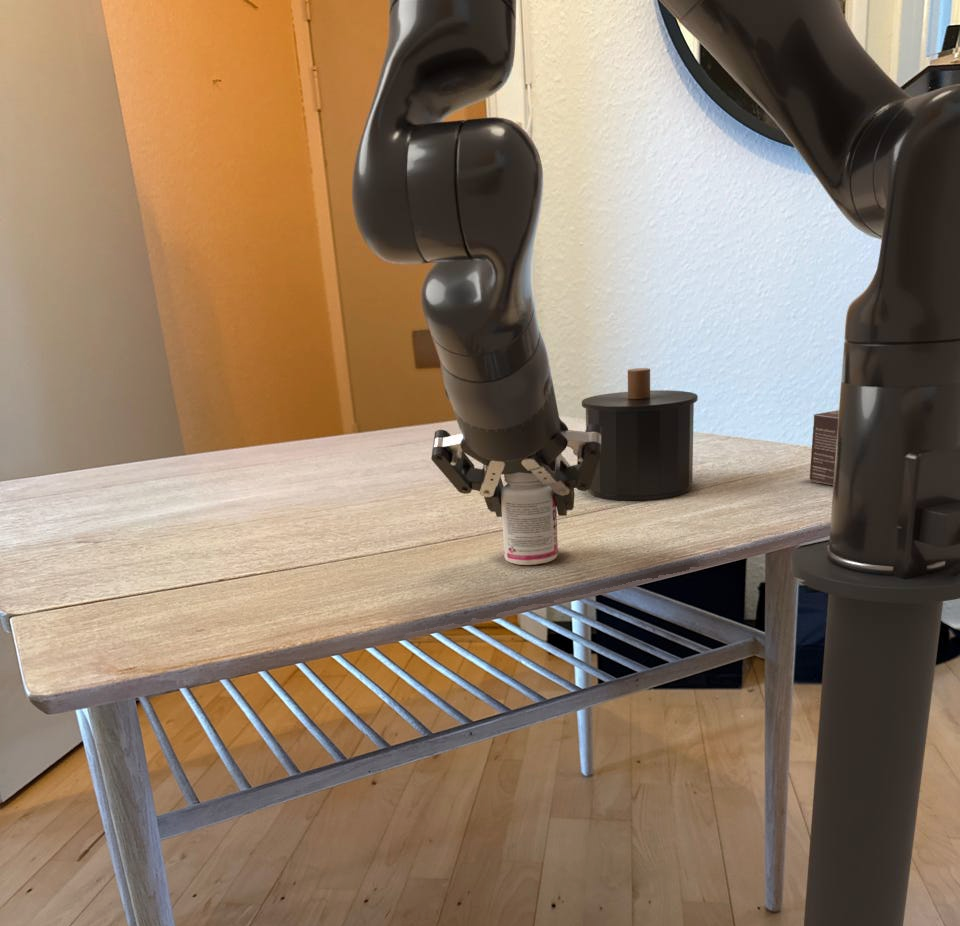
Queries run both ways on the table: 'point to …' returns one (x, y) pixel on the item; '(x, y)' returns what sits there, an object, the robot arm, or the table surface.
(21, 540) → the table surface
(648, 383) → the pot lid
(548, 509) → the pill bottle
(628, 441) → the pot
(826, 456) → the box
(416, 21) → the robot arm
